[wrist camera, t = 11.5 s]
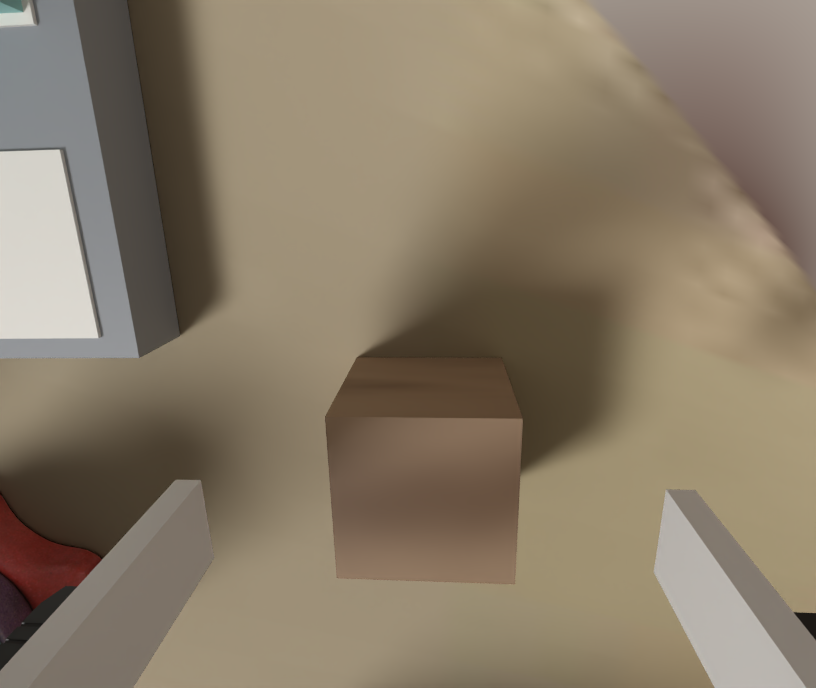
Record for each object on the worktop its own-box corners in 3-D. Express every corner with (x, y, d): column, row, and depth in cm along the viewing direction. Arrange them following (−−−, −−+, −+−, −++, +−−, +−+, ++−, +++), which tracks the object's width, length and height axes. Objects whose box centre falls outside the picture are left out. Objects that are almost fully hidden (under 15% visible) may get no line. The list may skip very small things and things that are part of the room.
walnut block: (497, 485, 23) (515, 584, 17) (363, 482, 23) (337, 578, 17) (501, 356, 21) (523, 418, 15) (357, 356, 21) (325, 416, 16)
